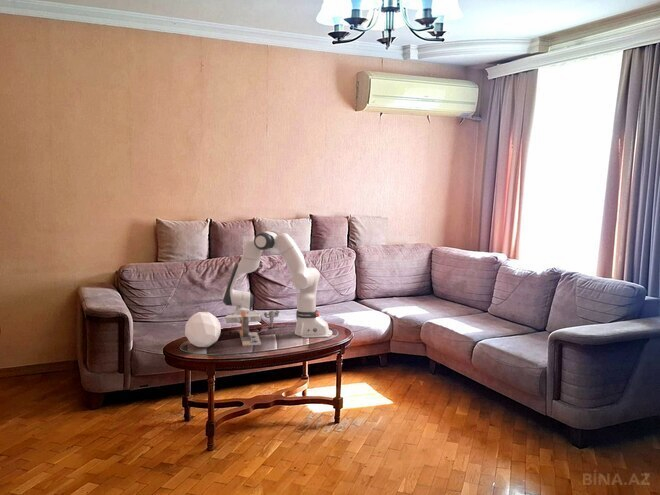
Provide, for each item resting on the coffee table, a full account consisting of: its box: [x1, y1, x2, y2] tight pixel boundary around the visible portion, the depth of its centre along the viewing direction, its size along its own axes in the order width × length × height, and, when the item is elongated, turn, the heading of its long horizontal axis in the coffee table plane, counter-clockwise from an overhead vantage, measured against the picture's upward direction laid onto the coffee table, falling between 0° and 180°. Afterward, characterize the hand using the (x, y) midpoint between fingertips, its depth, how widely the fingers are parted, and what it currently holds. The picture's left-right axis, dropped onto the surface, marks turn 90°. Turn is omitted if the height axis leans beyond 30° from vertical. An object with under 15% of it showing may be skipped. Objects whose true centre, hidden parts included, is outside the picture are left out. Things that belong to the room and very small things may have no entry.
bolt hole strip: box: [249, 331, 262, 346], centre depth 335 cm, size 23×6×1 cm, turn 13°
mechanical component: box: [263, 309, 280, 328], centre depth 363 cm, size 3×10×10 cm, turn 127°
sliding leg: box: [238, 311, 247, 336], centre depth 337 cm, size 5×5×13 cm
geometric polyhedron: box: [184, 311, 222, 348], centre depth 321 cm, size 19×20×20 cm
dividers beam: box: [239, 316, 251, 347], centre depth 333 cm, size 23×5×16 cm, turn 13°
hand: (244, 321), depth 336 cm, fingers closed on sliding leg, 3 cm apart
